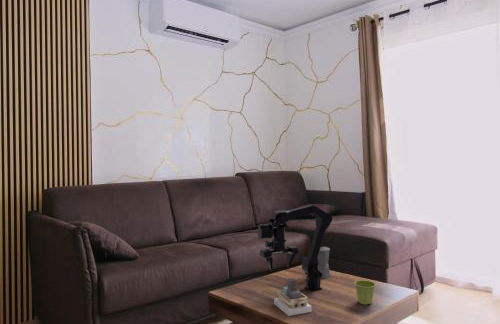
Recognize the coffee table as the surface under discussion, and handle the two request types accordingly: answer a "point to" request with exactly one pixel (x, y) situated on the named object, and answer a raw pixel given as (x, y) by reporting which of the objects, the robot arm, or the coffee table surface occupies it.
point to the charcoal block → (295, 295)
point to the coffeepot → (324, 261)
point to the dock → (294, 310)
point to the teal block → (286, 291)
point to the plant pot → (365, 291)
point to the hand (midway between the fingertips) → (279, 268)
